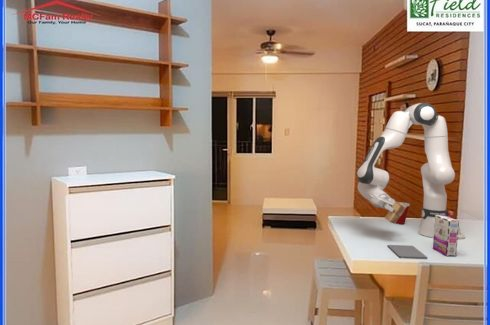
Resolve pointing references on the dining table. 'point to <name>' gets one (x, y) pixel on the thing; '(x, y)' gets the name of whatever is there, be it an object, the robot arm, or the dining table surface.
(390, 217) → the oak block
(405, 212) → the plastic cup
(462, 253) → the dining table surface
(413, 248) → the slate mat
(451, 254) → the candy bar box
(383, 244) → the dining table surface
